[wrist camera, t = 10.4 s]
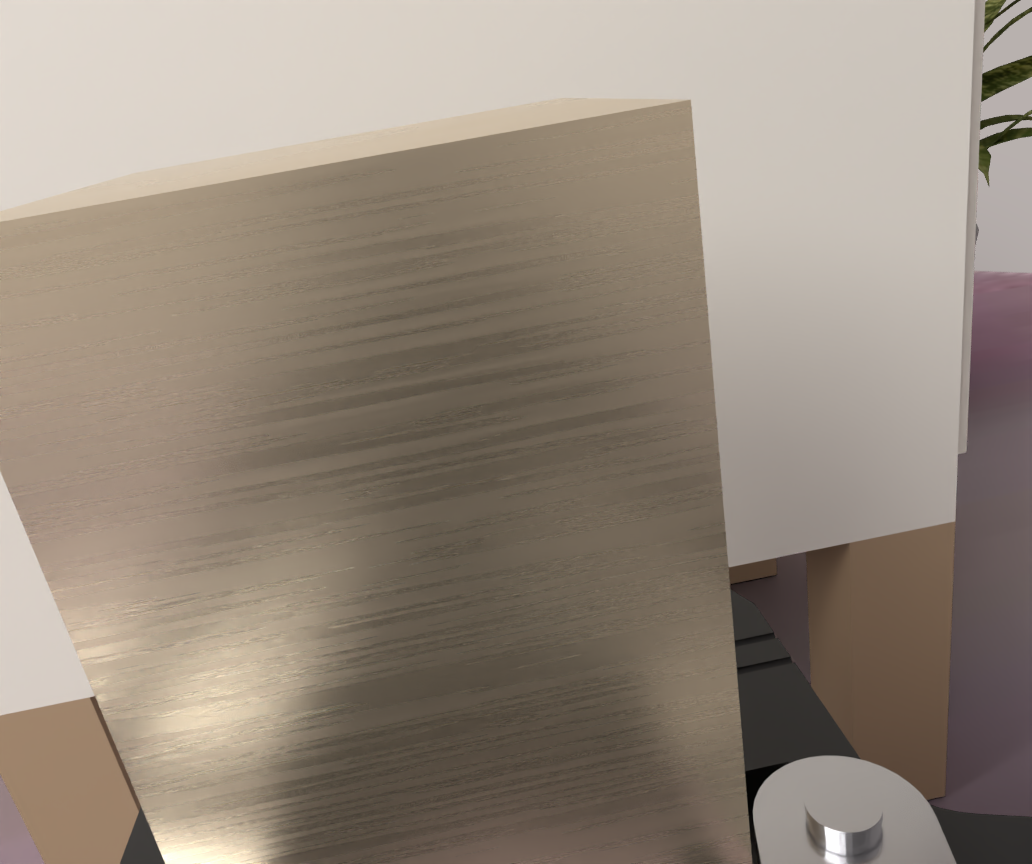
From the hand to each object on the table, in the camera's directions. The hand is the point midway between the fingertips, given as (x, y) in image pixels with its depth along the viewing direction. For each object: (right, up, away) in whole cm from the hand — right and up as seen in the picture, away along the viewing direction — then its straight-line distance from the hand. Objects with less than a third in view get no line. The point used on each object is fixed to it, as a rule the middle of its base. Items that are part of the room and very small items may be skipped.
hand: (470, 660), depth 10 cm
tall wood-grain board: (0, -5, +8) cm, 9 cm away
